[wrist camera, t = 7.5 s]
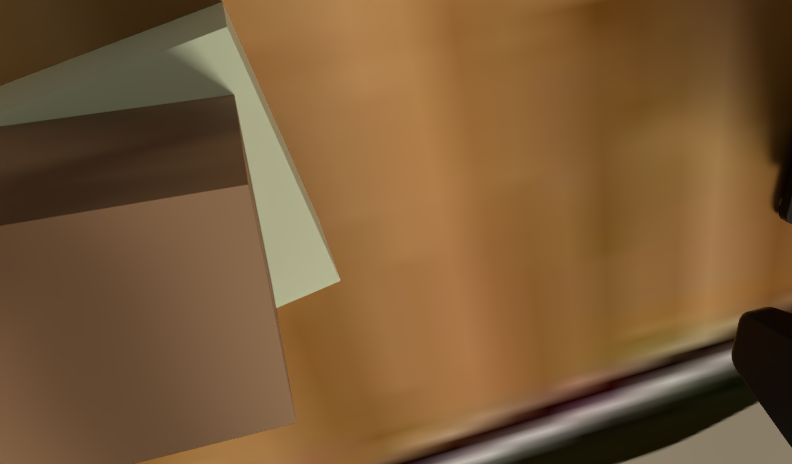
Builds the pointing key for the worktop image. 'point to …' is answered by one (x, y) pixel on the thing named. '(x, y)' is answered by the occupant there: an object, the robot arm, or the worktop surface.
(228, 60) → the sage base block
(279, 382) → the walnut cube
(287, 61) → the worktop surface
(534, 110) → the worktop surface
